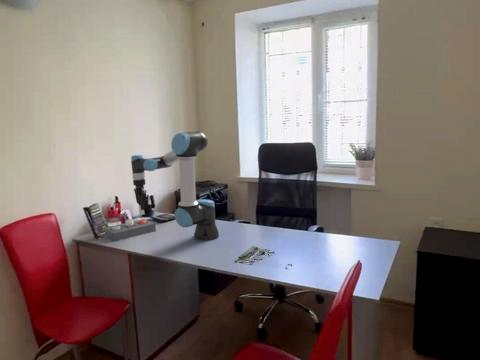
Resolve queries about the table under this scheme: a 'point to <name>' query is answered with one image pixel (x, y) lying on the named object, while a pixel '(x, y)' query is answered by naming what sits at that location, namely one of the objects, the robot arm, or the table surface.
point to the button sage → (115, 228)
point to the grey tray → (129, 230)
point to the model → (251, 252)
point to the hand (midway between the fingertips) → (142, 214)
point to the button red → (142, 222)
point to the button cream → (129, 223)
